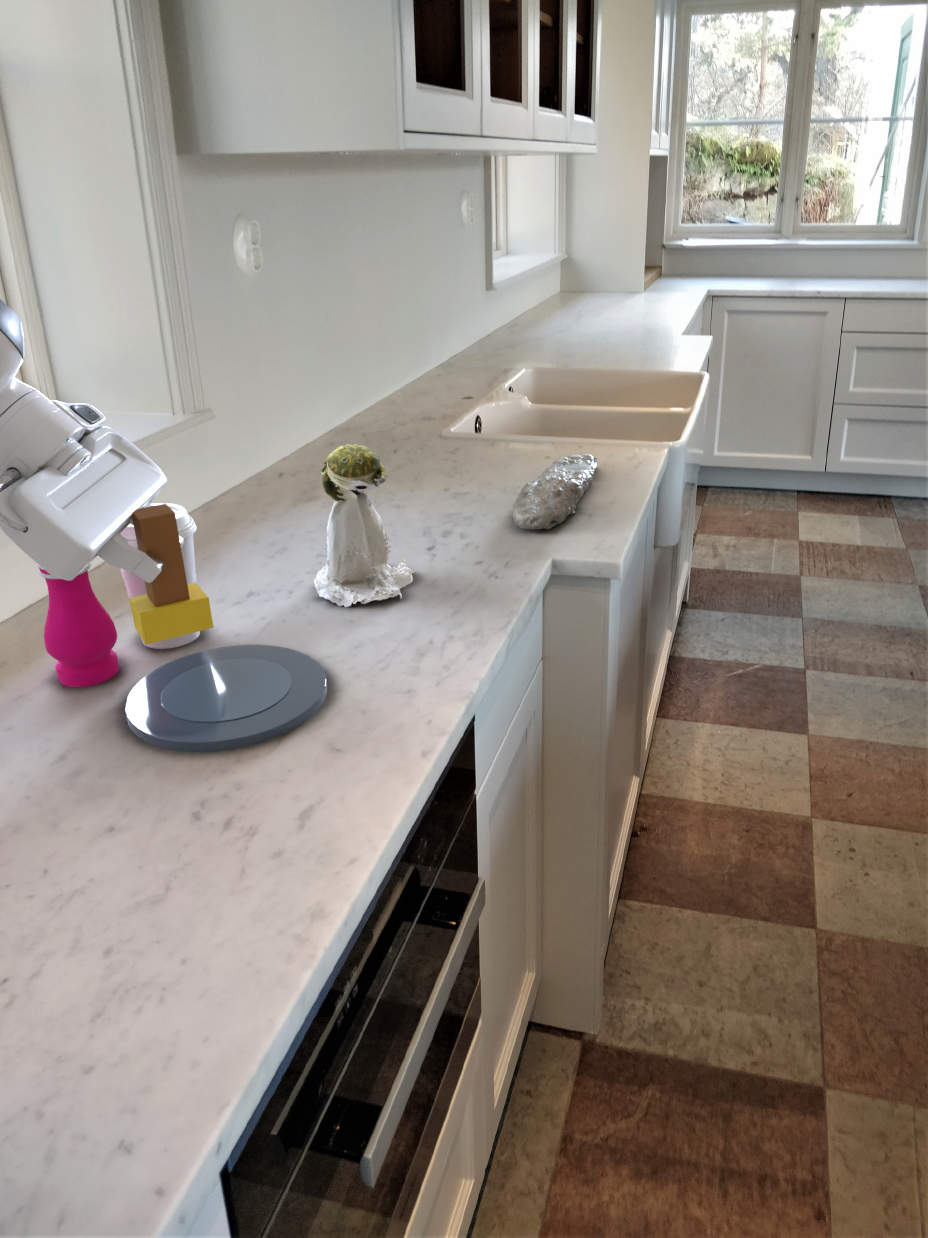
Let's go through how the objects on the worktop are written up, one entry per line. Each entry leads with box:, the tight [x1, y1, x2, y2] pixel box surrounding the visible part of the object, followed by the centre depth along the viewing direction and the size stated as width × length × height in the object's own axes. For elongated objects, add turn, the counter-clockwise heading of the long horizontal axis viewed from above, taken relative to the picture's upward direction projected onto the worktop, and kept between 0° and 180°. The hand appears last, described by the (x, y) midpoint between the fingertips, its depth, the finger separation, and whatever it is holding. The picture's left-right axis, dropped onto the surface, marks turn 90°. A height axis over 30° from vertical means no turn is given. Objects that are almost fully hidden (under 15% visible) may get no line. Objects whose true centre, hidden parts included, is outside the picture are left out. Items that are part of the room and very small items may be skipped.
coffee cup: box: [119, 502, 201, 650], centre depth 108 cm, size 10×10×15 cm
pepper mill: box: [36, 562, 120, 688], centre depth 100 cm, size 7×7×20 cm
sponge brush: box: [128, 503, 214, 645], centre depth 83 cm, size 6×4×11 cm, turn 120°
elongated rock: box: [511, 452, 599, 530], centre depth 152 cm, size 35×5×10 cm
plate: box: [124, 644, 328, 753], centre depth 97 cm, size 20×20×1 cm
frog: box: [313, 444, 415, 608], centre depth 119 cm, size 12×13×18 cm
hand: (168, 562), depth 83 cm, fingers closed on sponge brush, 4 cm apart
